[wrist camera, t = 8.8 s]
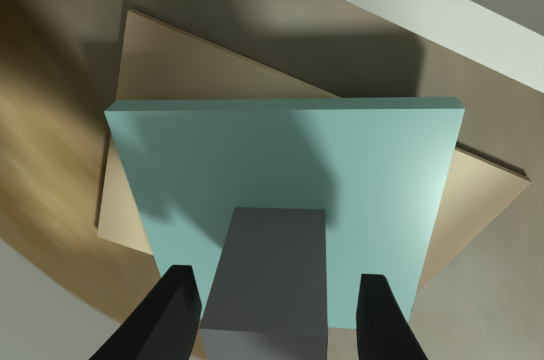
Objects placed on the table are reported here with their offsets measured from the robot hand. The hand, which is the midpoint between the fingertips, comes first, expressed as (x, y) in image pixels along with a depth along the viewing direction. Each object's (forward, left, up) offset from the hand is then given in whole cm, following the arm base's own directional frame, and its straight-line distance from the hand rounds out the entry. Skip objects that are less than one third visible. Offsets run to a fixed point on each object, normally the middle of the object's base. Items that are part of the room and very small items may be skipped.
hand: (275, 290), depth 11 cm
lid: (0, 0, -4) cm, 4 cm away
